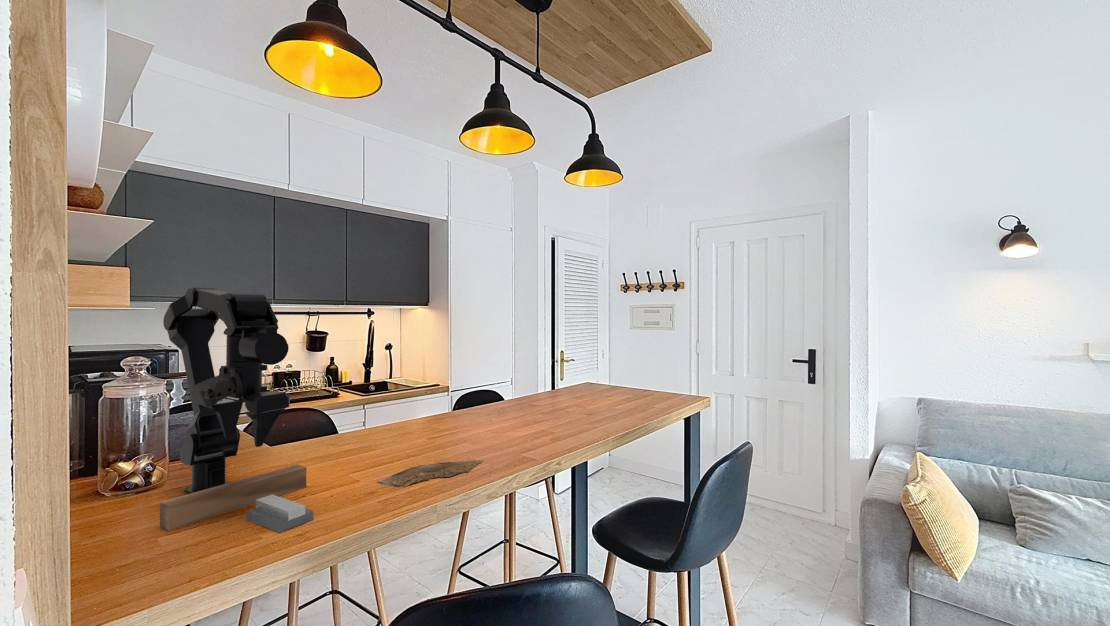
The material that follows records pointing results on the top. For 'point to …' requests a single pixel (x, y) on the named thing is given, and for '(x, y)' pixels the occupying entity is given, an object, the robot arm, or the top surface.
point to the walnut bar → (229, 497)
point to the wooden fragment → (428, 472)
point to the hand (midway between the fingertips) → (243, 442)
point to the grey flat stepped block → (279, 513)
